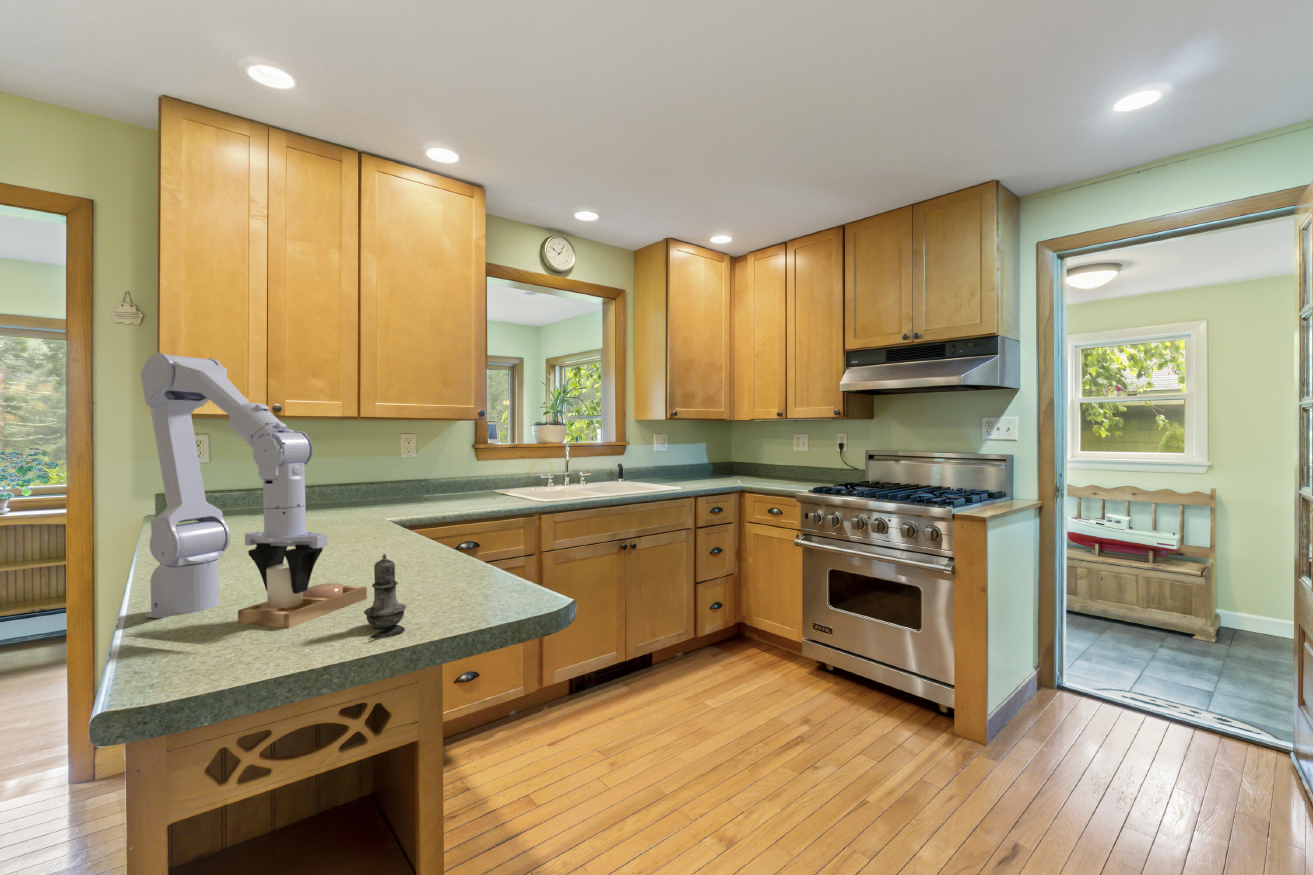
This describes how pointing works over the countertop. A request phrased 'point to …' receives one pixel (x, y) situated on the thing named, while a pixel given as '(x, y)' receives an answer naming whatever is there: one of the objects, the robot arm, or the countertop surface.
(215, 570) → the robot arm
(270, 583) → the cream cylinder
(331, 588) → the pinkish tan dome
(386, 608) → the salt shaker
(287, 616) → the tray
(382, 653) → the countertop surface
